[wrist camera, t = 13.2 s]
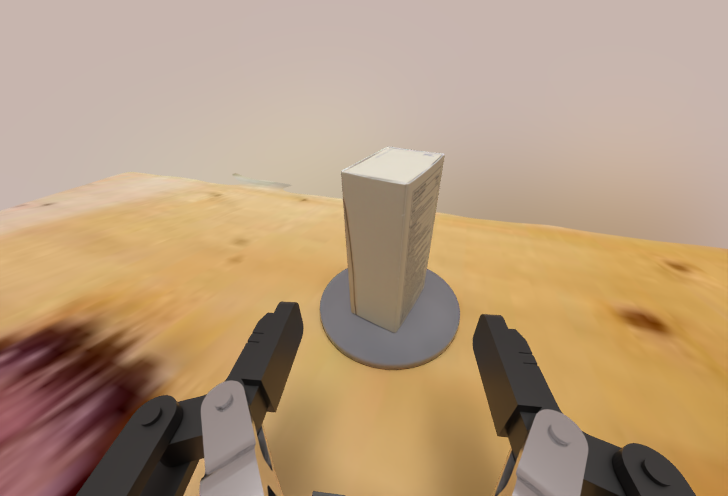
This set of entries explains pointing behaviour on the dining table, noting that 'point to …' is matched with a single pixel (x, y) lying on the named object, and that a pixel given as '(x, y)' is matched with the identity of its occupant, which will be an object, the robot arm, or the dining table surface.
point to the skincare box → (389, 231)
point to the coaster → (382, 347)
